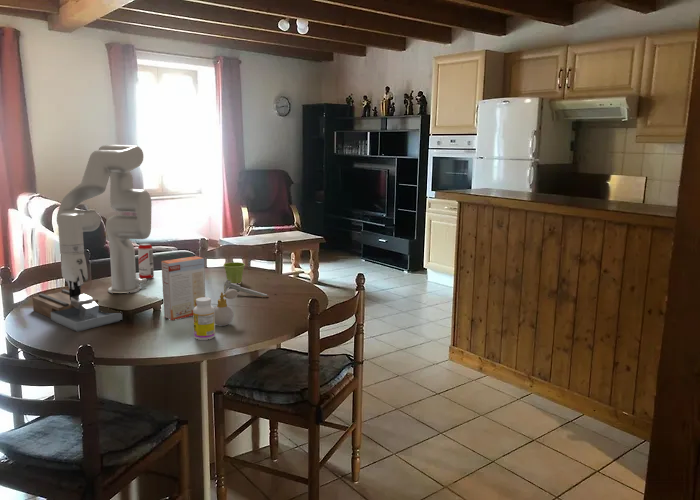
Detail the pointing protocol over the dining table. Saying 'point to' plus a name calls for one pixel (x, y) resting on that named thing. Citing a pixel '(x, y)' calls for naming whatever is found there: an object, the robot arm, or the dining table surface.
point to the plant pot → (234, 271)
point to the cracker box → (182, 286)
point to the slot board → (53, 302)
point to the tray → (75, 323)
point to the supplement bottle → (204, 319)
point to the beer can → (145, 261)
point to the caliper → (240, 289)
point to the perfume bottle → (224, 308)
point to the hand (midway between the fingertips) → (75, 299)
